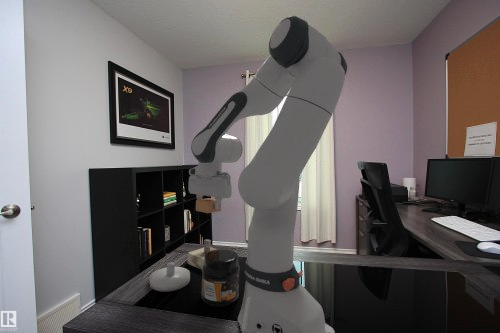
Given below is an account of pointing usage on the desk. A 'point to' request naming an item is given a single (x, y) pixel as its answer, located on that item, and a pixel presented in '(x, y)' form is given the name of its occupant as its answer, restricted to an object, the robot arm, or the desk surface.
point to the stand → (199, 255)
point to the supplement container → (220, 277)
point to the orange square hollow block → (206, 205)
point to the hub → (169, 278)
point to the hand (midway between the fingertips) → (208, 207)
